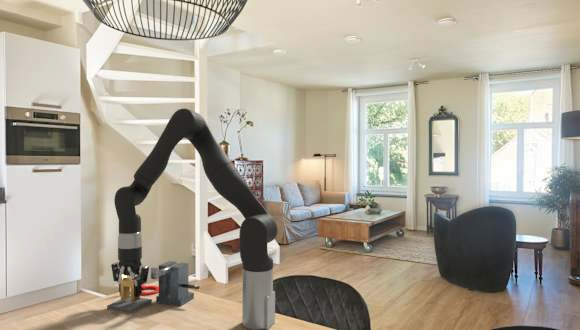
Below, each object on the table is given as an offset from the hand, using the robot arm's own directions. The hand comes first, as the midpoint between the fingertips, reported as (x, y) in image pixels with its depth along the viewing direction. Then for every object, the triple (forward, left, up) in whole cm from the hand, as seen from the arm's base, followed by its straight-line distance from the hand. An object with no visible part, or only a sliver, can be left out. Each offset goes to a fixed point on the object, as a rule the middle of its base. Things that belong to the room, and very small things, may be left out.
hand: (130, 294), depth 138 cm
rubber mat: (0, 0, -4) cm, 4 cm away
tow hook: (+4, -14, -4) cm, 15 cm away
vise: (-13, -6, -4) cm, 15 cm away
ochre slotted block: (0, 0, -2) cm, 2 cm away
